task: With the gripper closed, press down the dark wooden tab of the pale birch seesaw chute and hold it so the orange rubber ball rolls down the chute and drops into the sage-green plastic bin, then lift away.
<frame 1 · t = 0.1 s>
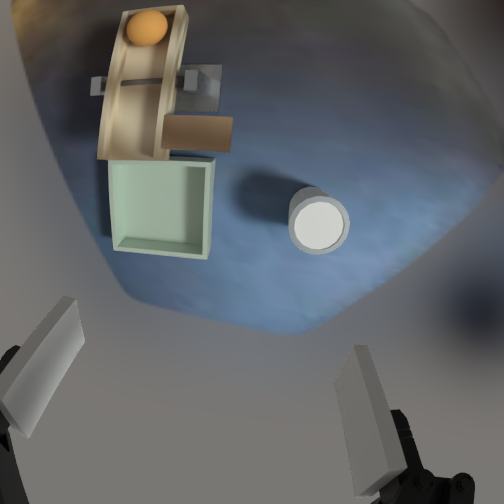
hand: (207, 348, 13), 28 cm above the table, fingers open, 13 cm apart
stand: (168, 88, 33), on the table
bin: (164, 201, 39), on the table
shot glass: (310, 207, 39), on the table
ball: (147, 27, 22), point 9 cm above the table, tilted 30°, touching lever
lever: (168, 79, 25), point 9 cm above the table, hinge at -12.0°, touching ball
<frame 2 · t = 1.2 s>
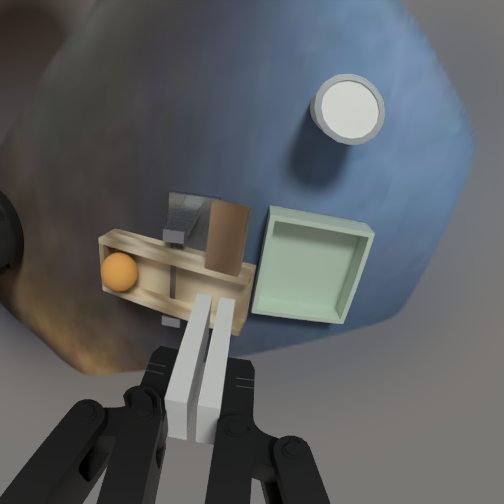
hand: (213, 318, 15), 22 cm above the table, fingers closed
stand: (191, 243, 38), on the table
bin: (307, 262, 39), on the table
shot glass: (333, 109, 31), on the table
ball: (119, 271, 30), point 9 cm above the table, tilted 30°, touching lever
lever: (171, 255, 29), point 9 cm above the table, hinge at -12.0°, touching ball
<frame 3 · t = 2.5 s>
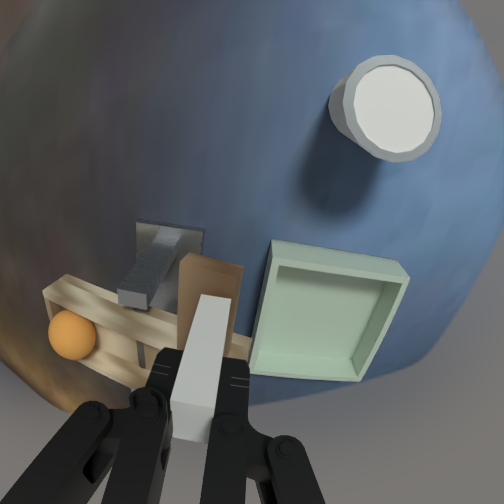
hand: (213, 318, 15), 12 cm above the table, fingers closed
stand: (168, 286, 29), on the table
bin: (319, 309, 30), on the table
shot glass: (360, 108, 22), on the table
ball: (71, 334, 20), point 9 cm above the table, tilted 30°, touching lever
lever: (134, 321, 20), point 9 cm above the table, hinge at -12.0°, touching ball, gripper
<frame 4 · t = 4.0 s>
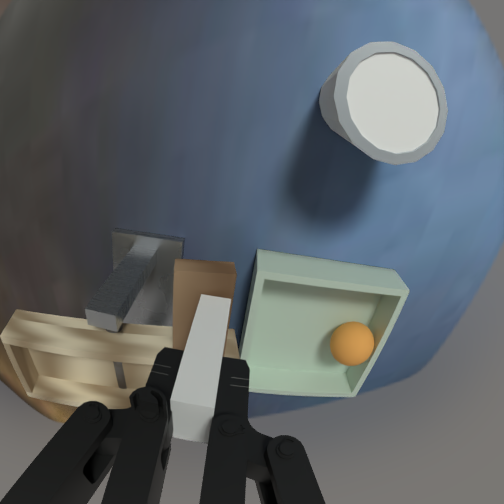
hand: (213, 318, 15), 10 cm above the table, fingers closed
stand: (149, 299, 27), on the table
bin: (311, 322, 27), on the table
shot glass: (355, 103, 20), on the table
ball: (352, 343, 25), point 3 cm above the table, tilted 34°, touching bin
lever: (112, 343, 17), point 9 cm above the table, hinge at 10.5°, touching gripper
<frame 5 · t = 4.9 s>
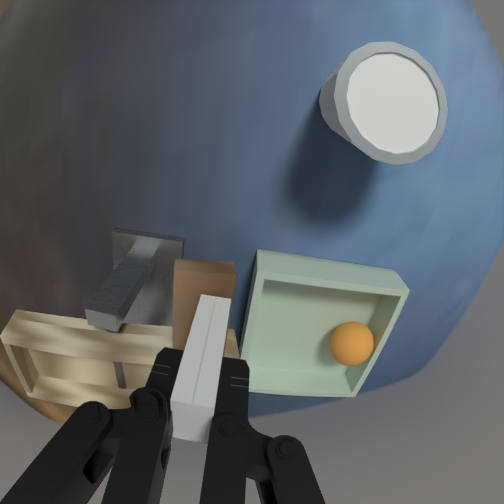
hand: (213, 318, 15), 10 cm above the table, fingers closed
stand: (149, 299, 27), on the table
bin: (311, 322, 27), on the table
shot glass: (355, 103, 20), on the table
ball: (351, 343, 25), point 3 cm above the table, tilted 35°, touching bin
lever: (112, 343, 17), point 9 cm above the table, hinge at 10.6°, touching gripper
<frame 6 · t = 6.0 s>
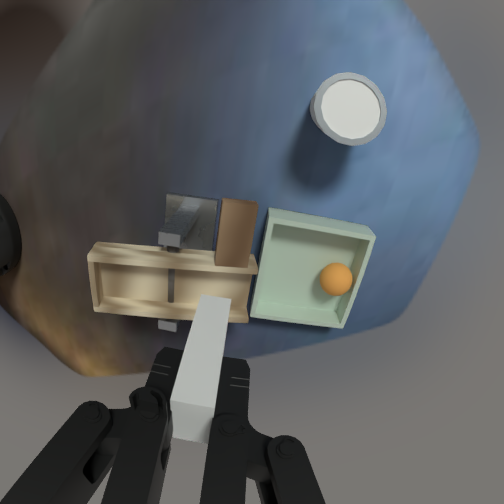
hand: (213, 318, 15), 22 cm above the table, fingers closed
stand: (188, 246, 38), on the table
bin: (307, 265, 38), on the table
shot glass: (334, 109, 30), on the table
ball: (336, 279, 36), point 3 cm above the table, tilted 39°, touching bin
lever: (171, 259, 28), point 9 cm above the table, hinge at 10.6°
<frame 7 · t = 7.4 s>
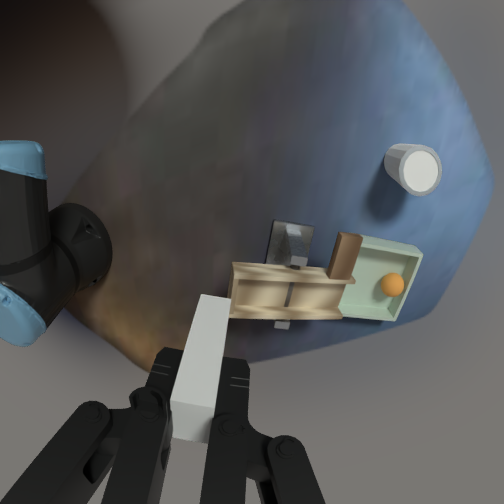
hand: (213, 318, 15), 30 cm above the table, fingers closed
stand: (285, 261, 48), on the table
bin: (371, 274, 48), on the table
shot glass: (399, 161, 41), on the table
ball: (392, 284, 46), point 3 cm above the table, tilted 45°, touching bin
lever: (295, 275, 39), point 9 cm above the table, hinge at 10.6°
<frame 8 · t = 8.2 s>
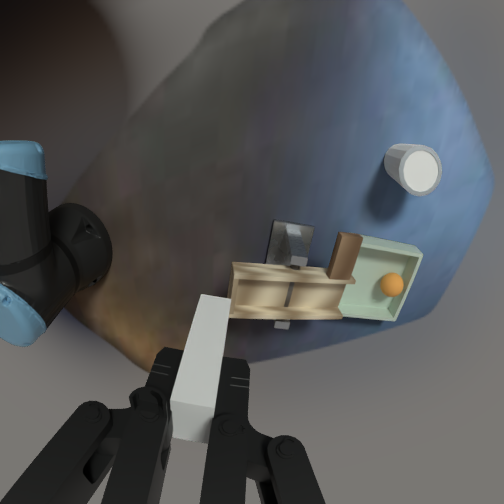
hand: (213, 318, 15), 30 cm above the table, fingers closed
stand: (285, 261, 48), on the table
bin: (371, 274, 48), on the table
shot glass: (399, 161, 41), on the table
ball: (391, 284, 46), point 3 cm above the table, tilted 48°, touching bin
lever: (295, 275, 39), point 9 cm above the table, hinge at 10.6°
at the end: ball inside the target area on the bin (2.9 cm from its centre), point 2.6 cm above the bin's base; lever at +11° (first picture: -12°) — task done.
